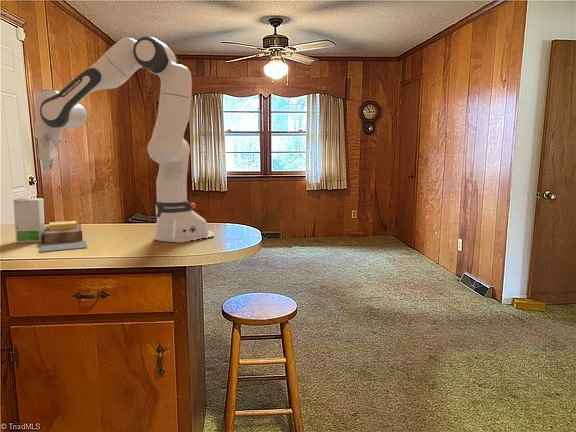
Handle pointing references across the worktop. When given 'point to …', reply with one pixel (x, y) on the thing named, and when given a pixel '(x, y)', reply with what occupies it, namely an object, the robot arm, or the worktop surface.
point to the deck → (63, 235)
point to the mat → (63, 246)
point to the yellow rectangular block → (62, 225)
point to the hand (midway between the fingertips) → (47, 170)
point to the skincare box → (29, 219)
